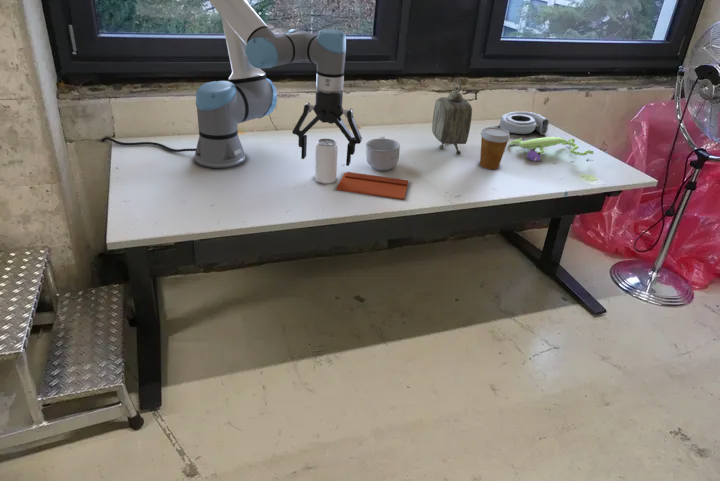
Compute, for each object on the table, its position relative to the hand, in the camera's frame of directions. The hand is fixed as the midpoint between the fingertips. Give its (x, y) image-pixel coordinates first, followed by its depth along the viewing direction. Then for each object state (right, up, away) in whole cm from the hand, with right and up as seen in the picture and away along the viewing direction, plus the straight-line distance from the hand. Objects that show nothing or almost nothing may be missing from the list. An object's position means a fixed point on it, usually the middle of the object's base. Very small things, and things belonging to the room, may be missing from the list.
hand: (325, 160), depth 160 cm
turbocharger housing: (+74, +21, +56) cm, 96 cm away
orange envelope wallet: (+14, -8, +1) cm, 16 cm away
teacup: (+17, +1, +16) cm, 23 cm away
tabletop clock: (+41, +9, +32) cm, 53 cm away
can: (0, -5, +3) cm, 6 cm away
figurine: (+79, +7, +35) cm, 87 cm away
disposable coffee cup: (+54, +1, +21) cm, 58 cm away
